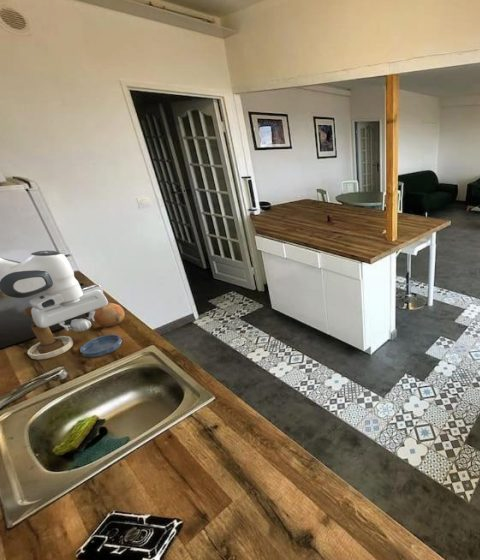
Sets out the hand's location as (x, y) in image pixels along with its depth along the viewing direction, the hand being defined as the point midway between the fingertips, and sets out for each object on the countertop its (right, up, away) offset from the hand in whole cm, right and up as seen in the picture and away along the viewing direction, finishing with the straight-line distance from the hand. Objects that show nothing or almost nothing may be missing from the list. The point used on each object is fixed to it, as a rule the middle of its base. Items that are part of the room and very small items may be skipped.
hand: (80, 325), depth 118 cm
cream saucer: (-8, -9, -2) cm, 12 cm away
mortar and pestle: (-8, -9, -2) cm, 12 cm away
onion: (0, -2, +14) cm, 14 cm away
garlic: (0, -2, +1) cm, 2 cm away
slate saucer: (+9, -9, 0) cm, 12 cm away
